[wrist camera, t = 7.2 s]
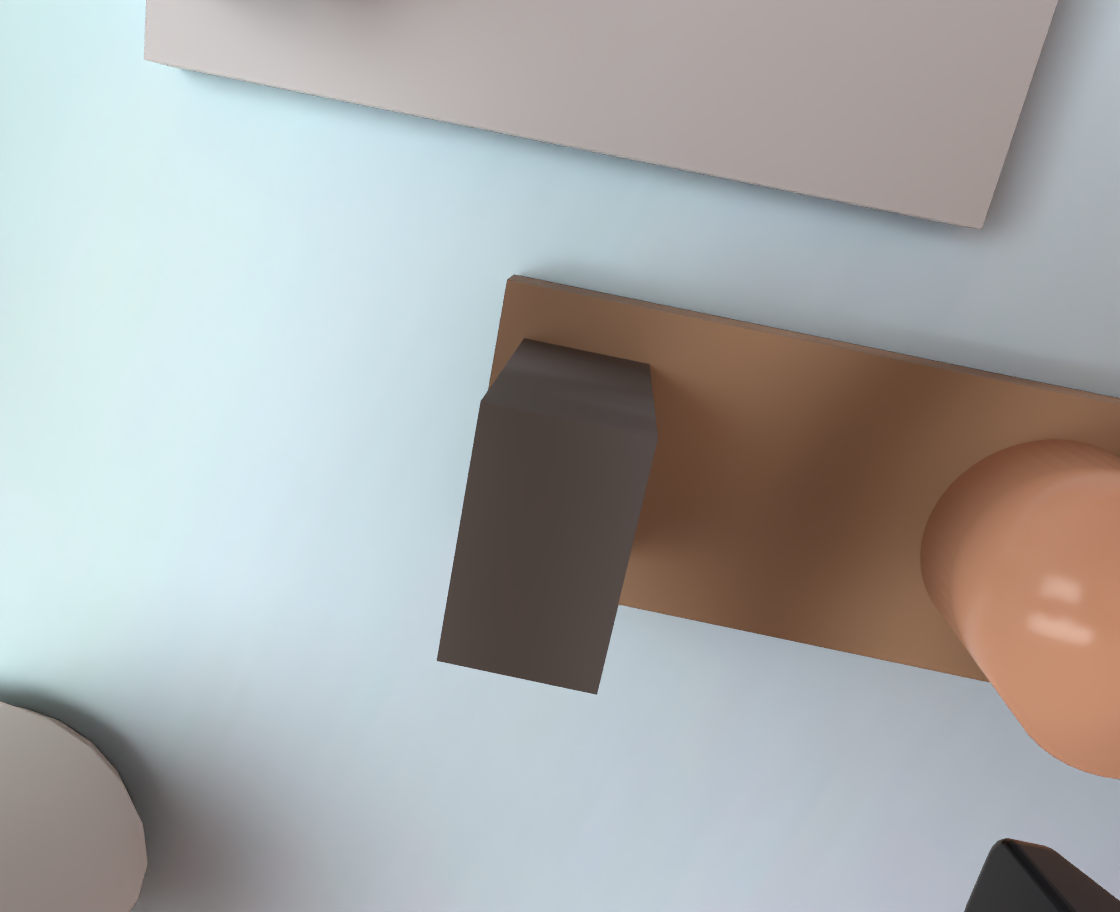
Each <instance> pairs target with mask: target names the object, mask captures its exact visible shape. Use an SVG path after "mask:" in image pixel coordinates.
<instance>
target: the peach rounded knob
mask: <svg viewBox="0 0 1120 912" xmlns="http://www.w3.org/2000/svg"><path fill="white" fill-rule="evenodd" d="M920 564H921V572H922V578H923V581H924V584H925V587H926V591H927V593H928V595H929V597H930V599H931V601H932V603H933V604H934V606H935V607H936V608H937V610H938V611H939V613H940V614H941V615H942V617H943V618H944V619H945V621H946V622H947V624H948V625H949V626H950V628H951V629H952V630H953V632H954V633H955V634H956V636H957V637H958V639H959V640H960V641H961V643H962V644H963V645H964V647H965V648H966V650H967V651H968V652H969V654H970V655H971V656H972V658H973V659H974V661H975V662H976V663H977V665H978V666H979V667H980V669H981V670H982V672H983V673H984V674H985V676H986V677H987V678H988V680H989V681H990V683H991V684H992V685H993V687H994V688H995V689H996V691H997V692H998V694H999V695H1000V696H1001V698H1002V699H1003V700H1004V702H1005V703H1006V704H1007V706H1008V707H1009V709H1010V710H1011V711H1012V713H1013V714H1014V715H1015V717H1016V718H1017V720H1018V721H1019V722H1020V724H1021V725H1022V726H1023V728H1024V729H1025V731H1026V732H1027V733H1028V735H1029V736H1030V737H1031V738H1032V739H1033V740H1034V741H1035V742H1036V743H1037V744H1038V745H1039V746H1040V747H1041V748H1043V749H1044V750H1045V751H1047V752H1048V753H1049V754H1051V755H1052V756H1053V757H1055V758H1057V759H1059V760H1060V761H1062V762H1064V763H1066V764H1067V765H1069V766H1072V767H1074V768H1077V769H1079V770H1082V771H1084V772H1088V773H1091V774H1095V775H1099V776H1102V777H1109V778H1115V779H1120V457H1118V456H1116V455H1114V454H1112V453H1111V452H1109V451H1106V450H1104V449H1102V448H1099V447H1097V446H1094V445H1090V444H1087V443H1083V442H1078V441H1071V440H1055V439H1048V440H1038V441H1031V442H1026V443H1022V444H1017V445H1014V446H1011V447H1008V448H1005V449H1003V450H1000V451H998V452H996V453H994V454H992V455H990V456H987V457H986V458H984V459H982V460H981V461H979V462H978V463H976V464H974V465H973V466H971V467H970V468H969V469H968V470H966V471H965V472H964V473H963V474H961V475H960V476H959V477H958V478H957V479H956V480H955V481H954V482H953V483H952V484H951V485H950V486H949V487H948V488H947V490H946V491H945V492H944V494H943V495H942V496H941V497H940V499H939V500H938V502H937V504H936V505H935V507H934V509H933V510H932V512H931V514H930V517H929V519H928V521H927V524H926V527H925V530H924V534H923V537H922V543H921V551H920Z"/></svg>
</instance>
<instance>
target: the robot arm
mask: <svg viewBox="0 0 1120 912" xmlns="http://www.w3.org/2000/svg"><path fill="white" fill-rule="evenodd" d="M964 912H1120V901H1119V900H1118V899H1116V898H1115V897H1114V896H1112V895H1111V894H1110V893H1109V892H1107V891H1106V890H1105V889H1103V888H1102V887H1101V886H1100V885H1098V884H1097V883H1096V882H1094V881H1093V880H1092V879H1091V878H1089V877H1088V876H1087V875H1085V874H1084V873H1083V872H1082V871H1080V870H1079V869H1078V868H1076V867H1075V866H1074V865H1073V864H1071V863H1070V862H1069V861H1067V860H1066V859H1065V858H1064V857H1062V856H1061V855H1060V854H1059V853H1057V852H1056V851H1054V850H1053V849H1051V848H1049V847H1046V846H1043V845H1038V844H1033V843H1028V842H1024V841H1019V840H1014V839H1009V838H1005V839H1002V840H999V841H997V842H996V843H995V844H994V845H993V846H992V848H991V850H990V852H989V854H988V856H987V858H986V861H985V863H984V865H983V868H982V870H981V872H980V875H979V877H978V879H977V882H976V884H975V886H974V889H973V891H972V893H971V896H970V898H969V900H968V903H967V905H966V908H965V911H964Z"/></svg>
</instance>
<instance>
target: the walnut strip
mask: <svg viewBox="0 0 1120 912" xmlns="http://www.w3.org/2000/svg"><path fill="white" fill-rule="evenodd" d="M1048 439H1055V440H1071V441H1078V442H1083V443H1087V444H1090V445H1094V446H1097V447H1099V448H1102V449H1104V450H1106V451H1109V452H1111V453H1112V454H1114V455H1116V456H1118V457H1120V399H1119V398H1114V397H1110V396H1105V395H1100V394H1095V393H1090V392H1085V391H1080V390H1075V389H1070V388H1066V387H1061V386H1056V385H1051V384H1046V383H1041V382H1036V381H1031V380H1027V379H1022V378H1017V377H1012V376H1007V375H1002V374H997V373H992V372H988V371H983V370H978V369H973V368H968V367H963V366H958V365H953V364H948V363H944V362H939V361H934V360H929V359H924V358H919V357H914V356H909V355H905V354H900V353H895V352H890V351H885V350H880V349H875V348H870V347H865V346H861V345H856V344H851V343H846V342H841V341H836V340H831V339H826V338H822V337H817V336H812V335H807V334H802V333H797V332H792V331H787V330H783V329H778V328H773V327H768V326H763V325H758V324H753V323H748V322H743V321H739V320H734V319H729V318H724V317H719V316H714V315H709V314H704V313H700V312H695V311H690V310H685V309H680V308H675V307H670V306H665V305H660V304H656V303H651V302H646V301H641V300H636V299H631V298H626V297H621V296H617V295H612V294H607V293H602V292H597V291H592V290H587V289H582V288H578V287H573V286H568V285H563V284H558V283H553V282H548V281H543V280H538V279H534V278H529V277H524V276H519V275H513V276H511V277H510V278H509V279H507V283H506V289H505V295H504V301H503V307H502V313H501V318H500V324H499V330H498V336H497V342H496V348H495V353H494V359H493V365H492V371H491V377H490V383H489V388H488V391H487V393H486V394H485V396H484V397H483V399H482V400H481V403H480V408H479V414H478V420H477V426H476V432H475V438H474V444H473V450H472V456H471V462H470V468H469V473H468V479H467V485H466V491H465V497H464V503H463V509H462V515H461V521H460V527H459V532H458V538H457V544H456V550H455V556H454V562H453V568H452V574H451V580H450V586H449V591H448V597H447V603H446V609H445V615H444V621H443V627H442V633H441V639H440V645H439V651H438V656H437V661H441V662H445V663H450V664H455V665H459V666H464V667H469V668H474V669H478V670H483V671H488V672H493V673H497V674H502V675H507V676H511V677H516V678H521V679H526V680H530V681H535V682H540V683H545V684H549V685H554V686H559V687H563V688H568V689H573V690H578V691H582V692H587V693H592V694H597V692H598V688H599V683H600V679H601V675H602V671H603V667H604V663H605V658H606V654H607V650H608V646H609V642H610V637H611V633H612V629H613V625H614V621H615V616H616V612H617V608H618V604H619V605H624V606H629V607H634V608H638V609H643V610H648V611H653V612H657V613H662V614H667V615H672V616H676V617H681V618H686V619H691V620H695V621H700V622H705V623H710V624H714V625H719V626H724V627H729V628H733V629H738V630H743V631H748V632H753V633H757V634H762V635H767V636H772V637H776V638H781V639H786V640H791V641H795V642H800V643H805V644H810V645H814V646H819V647H824V648H829V649H833V650H838V651H843V652H848V653H852V654H857V655H862V656H867V657H872V658H876V659H881V660H886V661H891V662H895V663H900V664H905V665H910V666H914V667H919V668H924V669H929V670H933V671H938V672H943V673H948V674H952V675H957V676H962V677H967V678H971V679H976V680H981V681H986V682H990V681H989V680H988V678H987V677H986V676H985V674H984V673H983V672H982V670H981V669H980V667H979V666H978V665H977V663H976V662H975V661H974V659H973V658H972V656H971V655H970V654H969V652H968V651H967V650H966V648H965V647H964V645H963V644H962V643H961V641H960V640H959V639H958V637H957V636H956V634H955V633H954V632H953V630H952V629H951V628H950V626H949V625H948V624H947V622H946V621H945V619H944V618H943V617H942V615H941V614H940V613H939V611H938V610H937V608H936V607H935V606H934V604H933V603H932V601H931V599H930V597H929V595H928V593H927V591H926V587H925V584H924V581H923V578H922V572H921V564H920V551H921V543H922V537H923V534H924V530H925V527H926V524H927V521H928V519H929V517H930V514H931V512H932V510H933V509H934V507H935V505H936V504H937V502H938V500H939V499H940V497H941V496H942V495H943V494H944V492H945V491H946V490H947V488H948V487H949V486H950V485H951V484H952V483H953V482H954V481H955V480H956V479H957V478H958V477H959V476H960V475H961V474H963V473H964V472H965V471H966V470H968V469H969V468H970V467H971V466H973V465H974V464H976V463H978V462H979V461H981V460H982V459H984V458H986V457H987V456H990V455H992V454H994V453H996V452H998V451H1000V450H1003V449H1005V448H1008V447H1011V446H1014V445H1017V444H1022V443H1026V442H1031V441H1038V440H1048Z"/></svg>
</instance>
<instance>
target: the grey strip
mask: <svg viewBox="0 0 1120 912" xmlns="http://www.w3.org/2000/svg"><path fill="white" fill-rule="evenodd" d="M1057 3H1058V0H146V22H145V47H144V60H148V61H152V62H156V63H160V64H163V65H167V66H171V67H176V68H181V69H186V70H190V71H195V72H200V73H205V74H210V75H215V76H220V77H225V78H230V79H235V80H240V81H245V82H250V83H255V84H260V85H265V86H269V87H274V88H279V89H284V90H289V91H294V92H299V93H304V94H309V95H314V96H319V97H324V98H329V99H334V100H339V101H344V102H348V103H353V104H358V105H363V106H368V107H373V108H378V109H383V110H388V111H393V112H398V113H403V114H408V115H413V116H418V117H423V118H427V119H432V120H437V121H442V122H447V123H452V124H457V125H462V126H467V127H472V128H477V129H482V130H487V131H492V132H497V133H502V134H506V135H511V136H516V137H521V138H526V139H531V140H536V141H541V142H546V143H551V144H556V145H561V146H566V147H571V148H576V149H581V150H585V151H590V152H595V153H600V154H605V155H610V156H615V157H620V158H625V159H630V160H635V161H640V162H645V163H650V164H655V165H660V166H664V167H669V168H674V169H679V170H684V171H689V172H694V173H699V174H704V175H709V176H714V177H719V178H724V179H729V180H734V181H739V182H743V183H748V184H753V185H758V186H763V187H768V188H773V189H778V190H783V191H788V192H793V193H798V194H803V195H808V196H813V197H818V198H822V199H827V200H832V201H837V202H842V203H847V204H852V205H857V206H862V207H867V208H872V209H877V210H882V211H887V212H892V213H897V214H901V215H906V216H911V217H916V218H921V219H926V220H931V221H936V222H941V223H946V224H951V225H956V226H961V227H969V228H977V229H982V227H983V224H984V221H985V218H986V215H987V212H988V209H989V206H990V203H991V200H992V197H993V194H994V191H995V188H996V185H997V182H998V179H999V176H1000V173H1001V170H1002V167H1003V164H1004V161H1005V158H1006V155H1007V152H1008V149H1009V146H1010V143H1011V140H1012V137H1013V134H1014V131H1015V128H1016V125H1017V122H1018V119H1019V116H1020V113H1021V110H1022V107H1023V104H1024V101H1025V98H1026V95H1027V92H1028V89H1029V87H1030V84H1031V81H1032V78H1033V75H1034V72H1035V69H1036V66H1037V63H1038V60H1039V57H1040V54H1041V51H1042V48H1043V45H1044V42H1045V39H1046V36H1047V33H1048V30H1049V27H1050V24H1051V21H1052V18H1053V15H1054V12H1055V9H1056V6H1057Z"/></svg>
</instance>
